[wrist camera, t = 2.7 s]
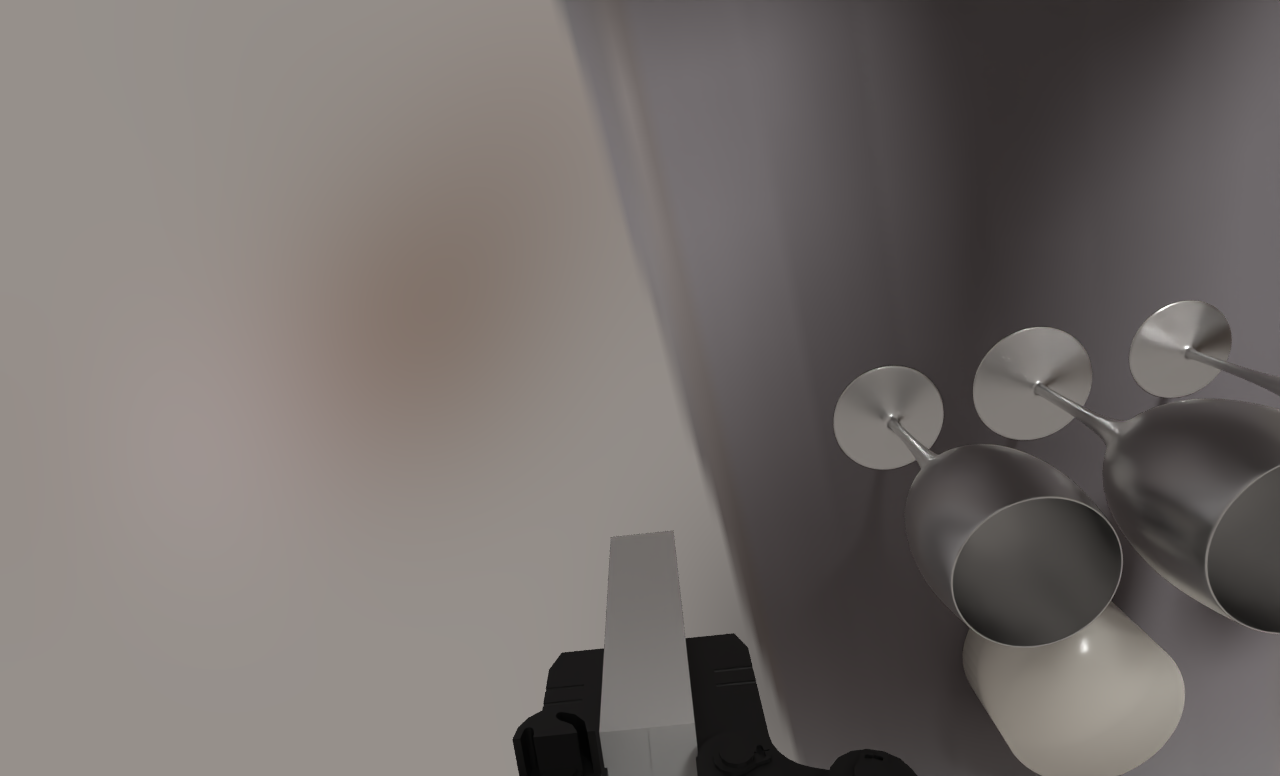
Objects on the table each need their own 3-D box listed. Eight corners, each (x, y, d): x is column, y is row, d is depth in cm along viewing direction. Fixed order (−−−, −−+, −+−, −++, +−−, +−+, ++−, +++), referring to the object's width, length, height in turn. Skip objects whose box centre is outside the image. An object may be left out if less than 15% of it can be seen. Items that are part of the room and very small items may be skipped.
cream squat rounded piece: (961, 585, 33) (1005, 642, 29) (1127, 568, 33) (1193, 623, 29) (960, 720, 35) (1000, 790, 31) (1116, 706, 35) (1176, 774, 31)
